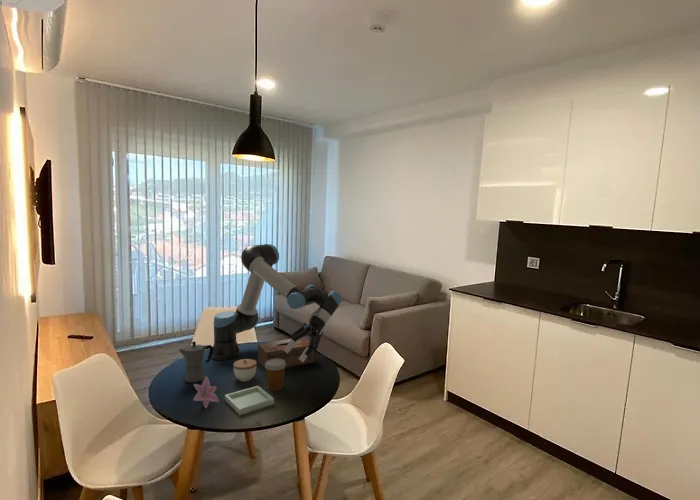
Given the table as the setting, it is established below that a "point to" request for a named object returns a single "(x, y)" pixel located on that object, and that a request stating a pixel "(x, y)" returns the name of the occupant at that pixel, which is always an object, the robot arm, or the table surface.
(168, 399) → the table surface
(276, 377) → the disposable coffee cup
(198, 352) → the coffeepot
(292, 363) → the tissue box cover
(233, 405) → the tray
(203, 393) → the lily
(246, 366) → the lidded jar
